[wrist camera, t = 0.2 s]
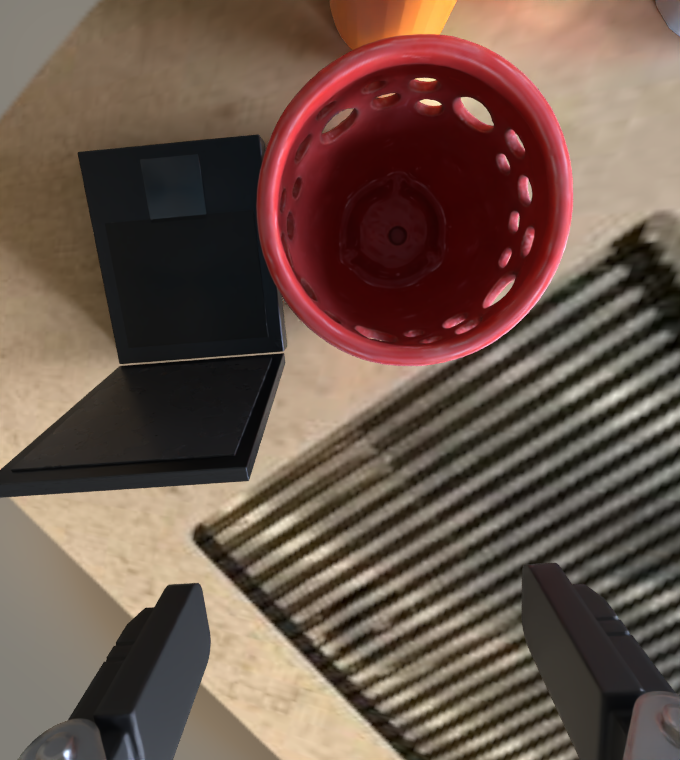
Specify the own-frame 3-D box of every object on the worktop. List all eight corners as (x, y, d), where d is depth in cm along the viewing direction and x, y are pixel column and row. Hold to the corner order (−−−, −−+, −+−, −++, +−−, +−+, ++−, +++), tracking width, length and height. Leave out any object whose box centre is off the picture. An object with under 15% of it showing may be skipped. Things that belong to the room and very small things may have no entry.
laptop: (93, 158, 30) (75, 151, 28) (264, 141, 29) (258, 133, 28) (131, 359, 33) (118, 364, 31) (287, 346, 32) (283, 351, 31)
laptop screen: (-20, 483, 19) (-12, 499, 20) (245, 464, 19) (249, 481, 19) (119, 364, 31) (122, 375, 32) (283, 351, 31) (285, 362, 31)
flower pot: (530, 254, 31) (640, 249, 19) (365, 369, 33) (373, 427, 21) (420, 71, 28) (468, -62, 17) (248, 207, 30) (185, 173, 19)
